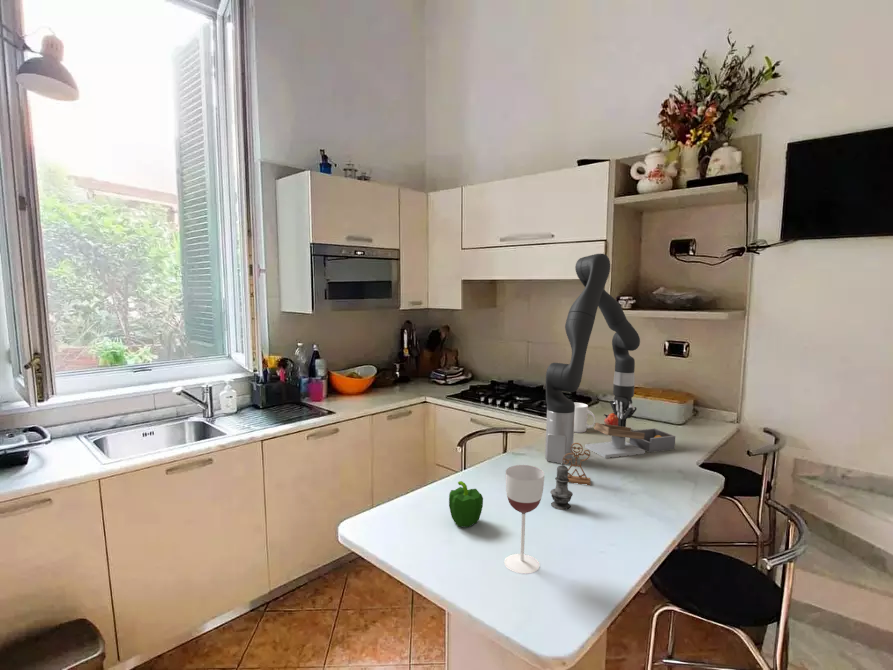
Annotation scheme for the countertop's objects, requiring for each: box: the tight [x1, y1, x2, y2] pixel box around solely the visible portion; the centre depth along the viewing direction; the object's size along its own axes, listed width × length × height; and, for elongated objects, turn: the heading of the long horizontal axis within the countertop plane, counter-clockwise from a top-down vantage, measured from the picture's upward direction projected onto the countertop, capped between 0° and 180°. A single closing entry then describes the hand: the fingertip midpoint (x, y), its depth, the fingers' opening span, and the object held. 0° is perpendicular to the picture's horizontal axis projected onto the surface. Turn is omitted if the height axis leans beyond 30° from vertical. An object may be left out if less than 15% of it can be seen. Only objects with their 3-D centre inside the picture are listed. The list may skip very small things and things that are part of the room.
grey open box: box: [628, 428, 676, 453], centre depth 183 cm, size 11×12×5 cm
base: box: [584, 436, 646, 459], centre depth 178 cm, size 12×17×6 cm
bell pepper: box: [448, 480, 484, 528], centre depth 121 cm, size 8×8×10 cm
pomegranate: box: [603, 412, 618, 426], centre depth 205 cm, size 7×7×10 cm
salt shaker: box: [550, 463, 574, 511], centre depth 131 cm, size 6×6×12 cm
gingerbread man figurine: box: [563, 442, 591, 486], centre depth 148 cm, size 9×4×12 cm, turn 74°
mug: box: [574, 402, 596, 434], centre depth 202 cm, size 9×12×11 cm
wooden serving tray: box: [593, 422, 645, 440], centre depth 181 cm, size 15×16×2 cm
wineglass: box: [503, 464, 545, 575], centre depth 103 cm, size 8×9×20 cm
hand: (621, 427), depth 188 cm, fingers closed
